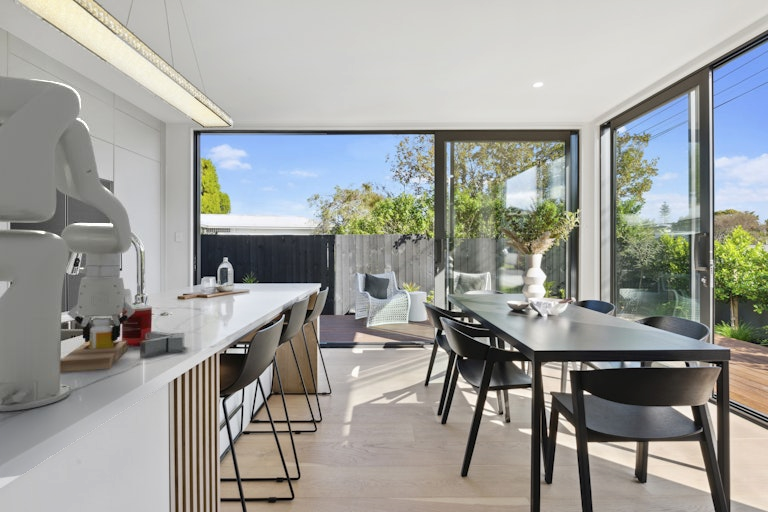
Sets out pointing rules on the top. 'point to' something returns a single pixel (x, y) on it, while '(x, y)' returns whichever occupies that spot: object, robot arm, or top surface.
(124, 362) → the top surface
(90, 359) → the wooden board with cutout
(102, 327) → the supplement bottle
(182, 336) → the v block
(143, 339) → the canned food
